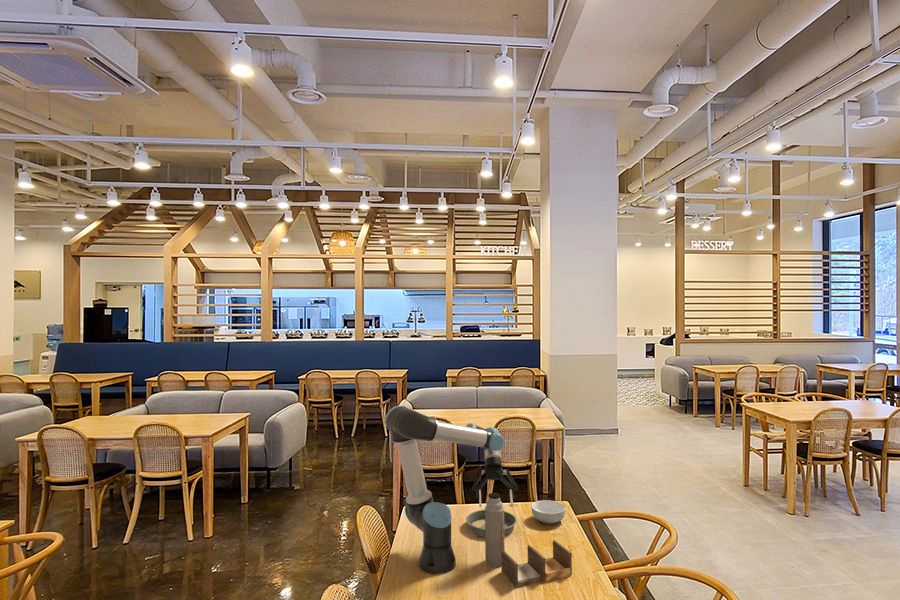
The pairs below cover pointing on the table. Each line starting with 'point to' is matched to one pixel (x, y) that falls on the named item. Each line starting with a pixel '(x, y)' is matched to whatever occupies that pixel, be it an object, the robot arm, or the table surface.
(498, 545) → the thermos bottle
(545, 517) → the cereal bowl
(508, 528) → the cake pan
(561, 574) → the rack
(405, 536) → the table surface
